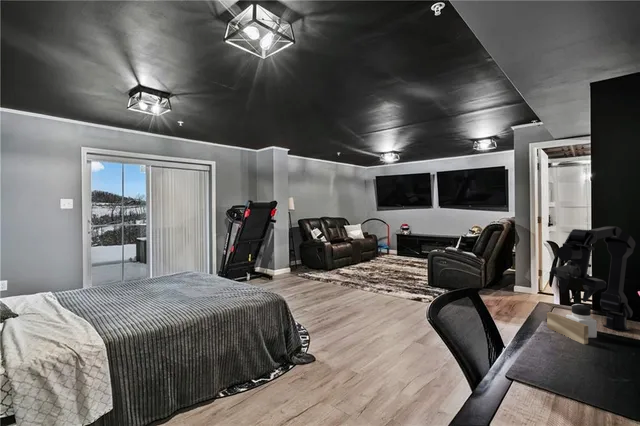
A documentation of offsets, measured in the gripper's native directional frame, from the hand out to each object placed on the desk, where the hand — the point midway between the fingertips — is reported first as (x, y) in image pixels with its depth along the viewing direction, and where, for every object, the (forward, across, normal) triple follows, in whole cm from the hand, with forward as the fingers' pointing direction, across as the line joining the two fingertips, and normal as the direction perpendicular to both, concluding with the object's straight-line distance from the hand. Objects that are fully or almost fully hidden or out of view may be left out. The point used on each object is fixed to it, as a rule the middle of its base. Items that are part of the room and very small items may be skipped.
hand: (573, 297), depth 130 cm
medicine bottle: (+15, +2, +5) cm, 16 cm away
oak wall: (+16, +2, -2) cm, 16 cm away
